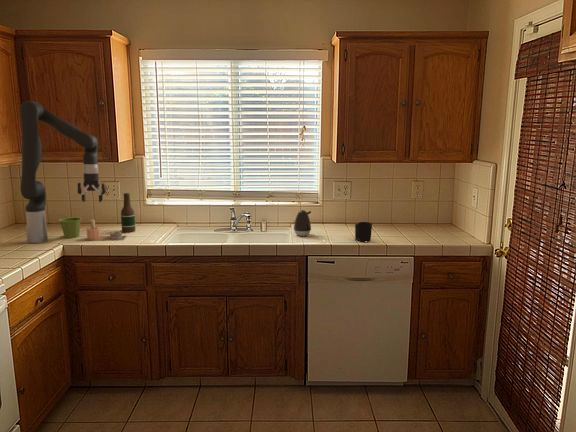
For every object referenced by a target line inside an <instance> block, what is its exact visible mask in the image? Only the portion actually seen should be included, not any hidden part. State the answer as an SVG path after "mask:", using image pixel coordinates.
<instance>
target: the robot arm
mask: <svg viewBox="0 0 576 432" xmlns="http://www.w3.org/2000/svg"><path fill="white" fill-rule="evenodd" d="M19 112H20V122H21V179H20V186H19V187H20V190H19V191H20V194H21V196H22V198H24V199H25V200H29V201H28V203H27V204H26V205H25V208H24V209H25V216H26V225H25V232H26V242H27V243H29V244H41V243H45V242H48V240H49V239H48V229H47V216H46V203H47V197H46V196H47V195H46V188H45V185H44V183H43V182H42V181H39V180H36V179H37V177H36V176H37V173H38V172H37V171H38V169H39V167H40V164H41V162H42V158H43V157H42V155H43V153H42V151H43V149H42V147H43V146H42V142H41V138H40V135H39V130H38V121H39V122H40V121H41V122H42V123H44V124H46V125H49V126H50V127H51V128H53V129H54V130H55V131H56V132H58V133H59V134H62V135H63V136H65V137H66V138H68V139H70V140H72V141H74V142H75V143H76V144H78V145H80V146H81V147H82V148H84V153H83V155H82V163H83V164H82V165H83V166H82V173H83V182H81V181H80V182H78V183H77V194H78V195H81V201H82V202H83V203H84V202H86V193H87V192H90V191H91V192H96V193H97V194H98V203H102V201H103V198H104V197H103V195H105V194H106V193H107V190H106V183H105V182H103V183H101V182H100V181H99V179H100V177H99V166H98V165H99V164H98V150H99V148H98V147H99V143H98V138H97V137H96V136H95V135H92V134H87V133H85V132H84V131H82V130H81V129H80V128H79V127H77V126H75V125H73V124H71V123H70V122H69V121H66V120H64V119H62V118H61V117H59V116H57V115H55V114H54V113H52V112H51V111H50V110H49V109H47V108H46V107H45V106H43V105H42V104H41V103H39V102H38V101H35V100H34V101H32V100H27V101H24V102H22V104H21V105H20V109H19ZM83 187H84V188H83ZM100 187H101V189H100ZM82 188H83V190H82Z"/></svg>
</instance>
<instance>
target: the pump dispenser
mask: <svg viewBox="0 0 576 432" xmlns="http://www.w3.org/2000/svg"><path fill="white" fill-rule="evenodd" d="M311 213H312V210H309V211H306V210H303V209H302V210H301V209H300V210H299V211H298V212H297V215H296V216H295V219H294V224H293V230H294V233H295V235H296V236H298V235H299V236H298V237H307V236H309V234H310V232H311V230H312V225H311V219H310V217H309V214H311Z"/></svg>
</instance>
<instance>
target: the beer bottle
mask: <svg viewBox="0 0 576 432" xmlns="http://www.w3.org/2000/svg"><path fill="white" fill-rule="evenodd" d="M122 196H123V207H122V209H121V210H120V222H121V233H124V234H126V233H127V234H130V233H135V232H136V217H135V216H136V215H135V211H134V209H133V207H132V206H131V205H132V204H131V198H130V197H131V193H129V192H126V193H125V192H124V193H122Z"/></svg>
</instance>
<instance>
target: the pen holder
mask: <svg viewBox="0 0 576 432" xmlns="http://www.w3.org/2000/svg"><path fill="white" fill-rule="evenodd" d="M354 228H355V229H354V235H355V236H354V239H355V241H356V240H357V241H364V242H363V243H366V242H365V241H370V240H372V230H373V223H372V222H368V221H360V222H358V223H354ZM357 241H356V242H357ZM370 242H371V241H370Z"/></svg>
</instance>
